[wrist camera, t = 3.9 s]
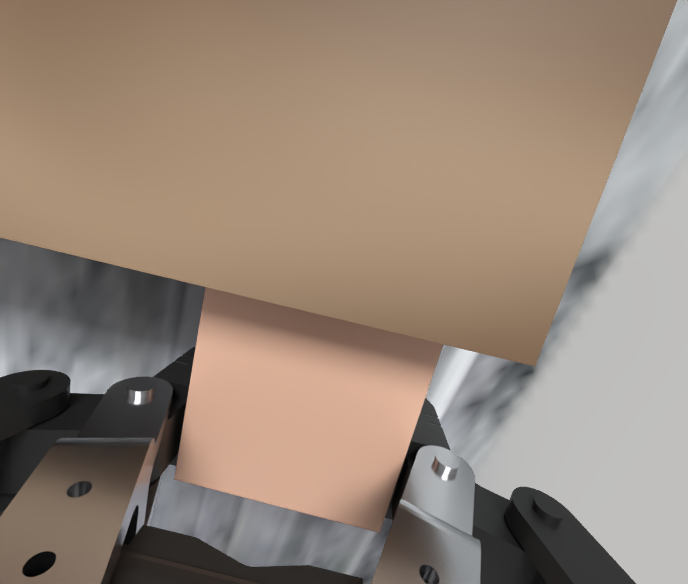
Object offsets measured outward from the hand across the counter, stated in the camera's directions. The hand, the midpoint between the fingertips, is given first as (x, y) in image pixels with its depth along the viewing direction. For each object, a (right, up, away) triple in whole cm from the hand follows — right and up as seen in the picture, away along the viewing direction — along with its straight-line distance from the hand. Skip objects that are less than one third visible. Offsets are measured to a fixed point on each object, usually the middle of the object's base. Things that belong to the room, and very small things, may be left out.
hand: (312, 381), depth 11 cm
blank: (+1, +4, 0) cm, 4 cm away
